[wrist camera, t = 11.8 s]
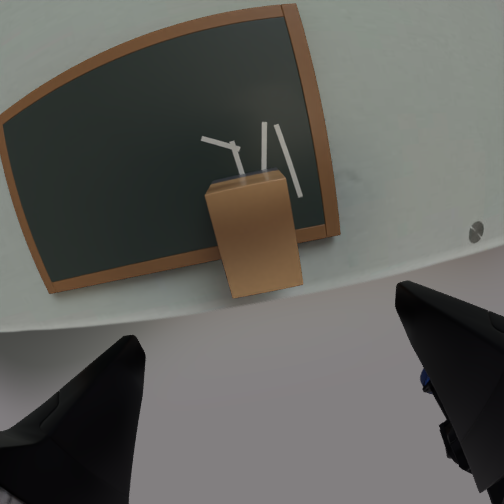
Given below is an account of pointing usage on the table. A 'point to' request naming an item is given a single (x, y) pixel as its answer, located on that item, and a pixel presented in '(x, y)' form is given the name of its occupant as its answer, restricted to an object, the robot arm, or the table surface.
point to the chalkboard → (165, 145)
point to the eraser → (255, 232)
